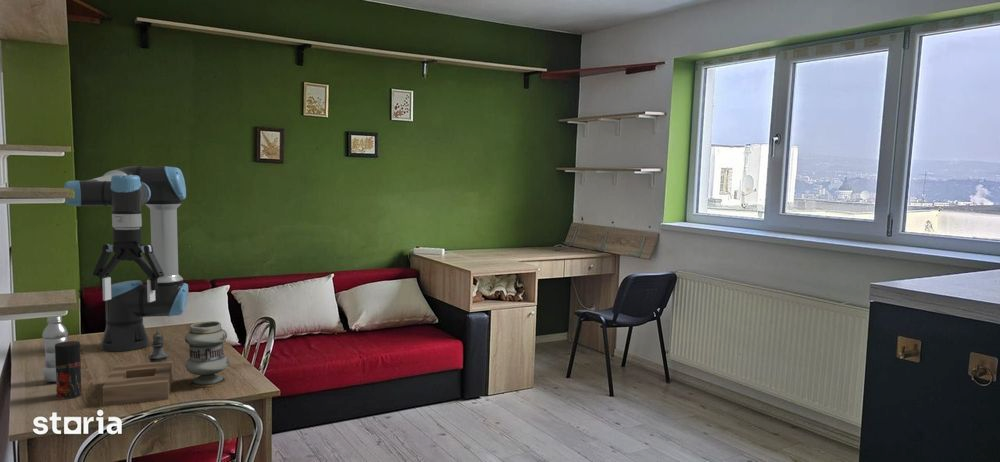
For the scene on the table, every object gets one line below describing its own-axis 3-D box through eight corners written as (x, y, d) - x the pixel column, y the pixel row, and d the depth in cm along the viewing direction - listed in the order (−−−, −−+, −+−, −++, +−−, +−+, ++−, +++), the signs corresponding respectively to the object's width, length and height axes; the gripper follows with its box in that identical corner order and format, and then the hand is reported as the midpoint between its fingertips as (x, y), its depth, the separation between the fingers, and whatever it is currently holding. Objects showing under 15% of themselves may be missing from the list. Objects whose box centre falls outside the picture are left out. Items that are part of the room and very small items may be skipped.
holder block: (114, 381, 207) (114, 365, 206) (173, 376, 213) (172, 360, 212) (103, 405, 187) (102, 387, 186) (168, 399, 193) (167, 381, 192)
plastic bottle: (51, 378, 209) (48, 313, 207) (74, 377, 210) (71, 313, 208) (38, 384, 203) (36, 318, 201) (62, 384, 203) (60, 318, 202)
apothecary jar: (177, 382, 207) (176, 324, 205) (214, 373, 217) (213, 317, 215) (200, 390, 200) (199, 330, 198) (237, 380, 210) (236, 323, 208)
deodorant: (86, 394, 195) (84, 342, 194) (65, 400, 190) (63, 347, 189) (73, 391, 198) (71, 340, 196) (52, 397, 192) (50, 344, 191)
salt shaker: (160, 369, 220) (159, 333, 218) (144, 368, 221) (143, 331, 220) (172, 364, 225) (171, 328, 224) (156, 363, 226) (155, 327, 225)
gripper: (77, 228, 196) (80, 301, 198) (160, 230, 194) (162, 304, 196) (95, 226, 203) (97, 296, 205) (175, 228, 201) (177, 299, 203)
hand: (129, 300), depth 200 cm, fingers open, 13 cm apart
